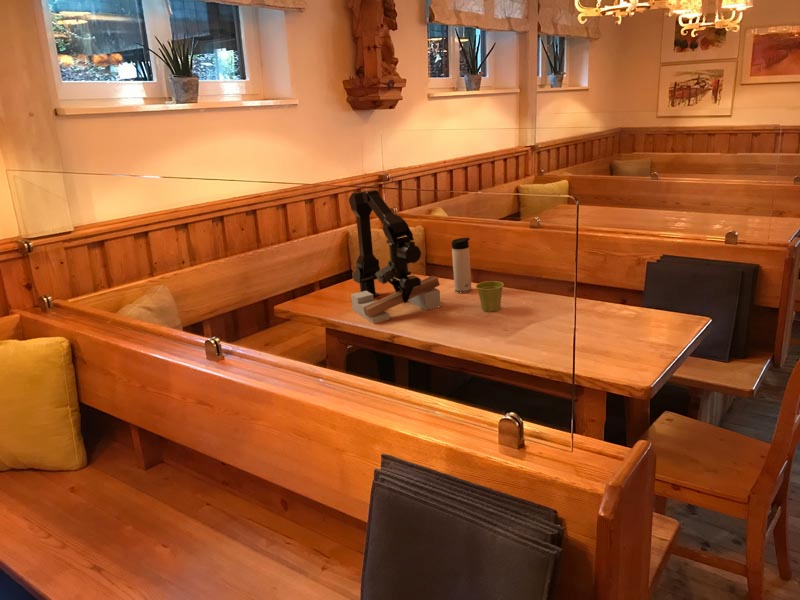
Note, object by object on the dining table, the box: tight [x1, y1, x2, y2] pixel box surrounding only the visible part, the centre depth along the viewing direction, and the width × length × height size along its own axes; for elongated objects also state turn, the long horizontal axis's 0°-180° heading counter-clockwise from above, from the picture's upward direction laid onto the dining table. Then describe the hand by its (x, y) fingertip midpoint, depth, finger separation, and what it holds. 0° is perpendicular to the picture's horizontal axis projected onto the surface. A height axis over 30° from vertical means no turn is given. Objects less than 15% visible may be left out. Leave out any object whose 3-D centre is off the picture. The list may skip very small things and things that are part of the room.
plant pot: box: [475, 280, 505, 313], centre depth 228 cm, size 9×9×9 cm
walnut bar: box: [363, 275, 441, 318], centre depth 232 cm, size 4×28×3 cm, turn 116°
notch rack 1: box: [350, 291, 390, 324], centre depth 234 cm, size 18×6×6 cm, turn 26°
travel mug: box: [451, 237, 473, 294], centre depth 248 cm, size 6×7×20 cm
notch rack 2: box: [407, 287, 442, 311], centre depth 242 cm, size 18×6×6 cm, turn 26°
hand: (402, 301), depth 233 cm, fingers closed on walnut bar, 3 cm apart
